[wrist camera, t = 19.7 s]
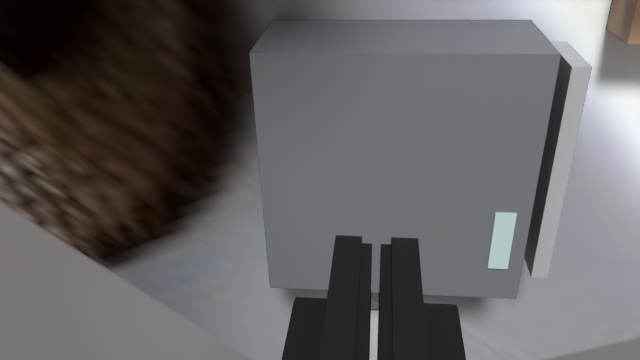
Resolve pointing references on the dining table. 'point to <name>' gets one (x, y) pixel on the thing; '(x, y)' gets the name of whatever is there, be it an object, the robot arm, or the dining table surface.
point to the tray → (556, 158)
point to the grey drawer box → (402, 145)
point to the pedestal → (625, 20)
